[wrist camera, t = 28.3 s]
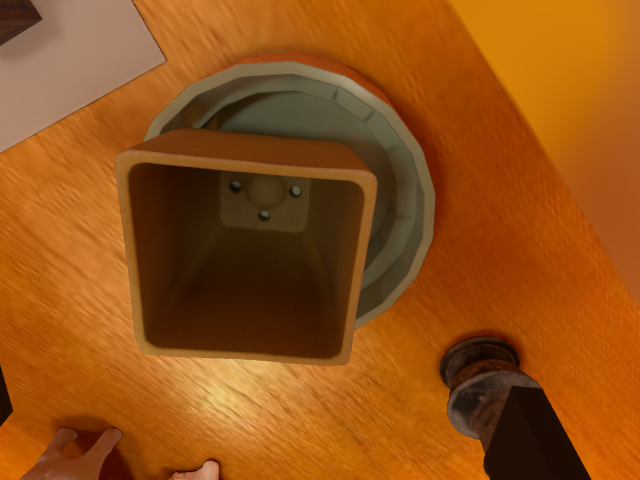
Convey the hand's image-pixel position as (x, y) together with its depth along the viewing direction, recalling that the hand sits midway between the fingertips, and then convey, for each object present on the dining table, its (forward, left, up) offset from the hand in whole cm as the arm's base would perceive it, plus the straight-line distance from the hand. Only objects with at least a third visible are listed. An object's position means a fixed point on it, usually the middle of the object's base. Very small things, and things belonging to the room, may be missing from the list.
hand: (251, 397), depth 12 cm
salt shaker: (-18, -1, -16) cm, 24 cm away
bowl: (0, 0, -16) cm, 16 cm away
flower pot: (+1, +1, -15) cm, 15 cm away
